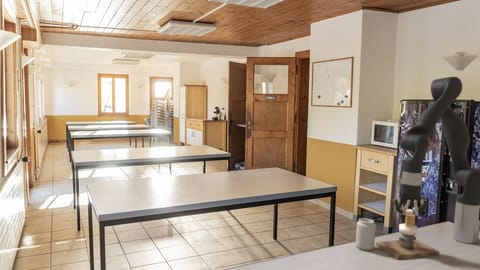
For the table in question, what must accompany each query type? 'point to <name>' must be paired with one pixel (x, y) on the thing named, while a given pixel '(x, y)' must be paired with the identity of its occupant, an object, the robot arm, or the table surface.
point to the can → (365, 234)
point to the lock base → (406, 252)
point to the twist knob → (409, 224)
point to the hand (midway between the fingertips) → (408, 223)
